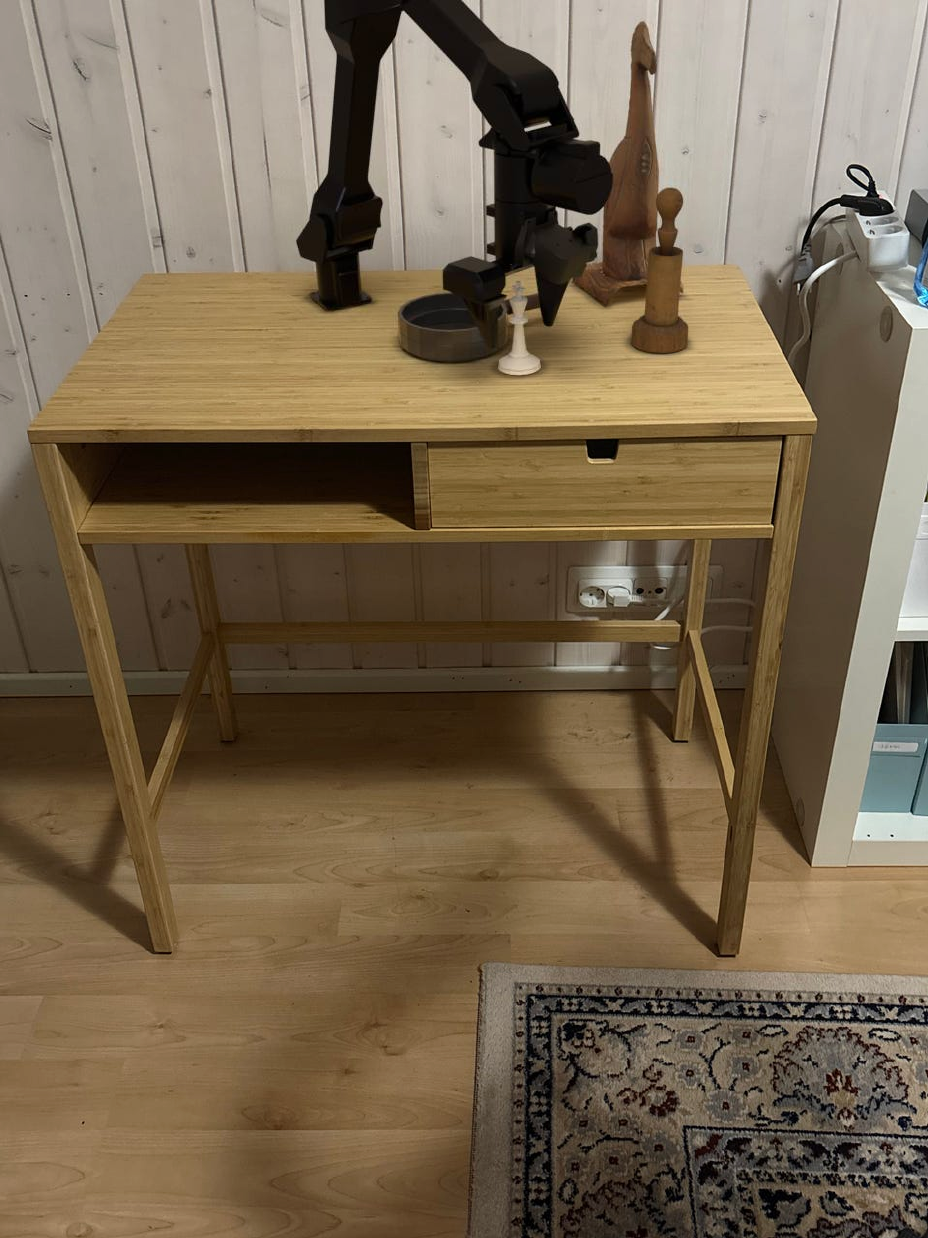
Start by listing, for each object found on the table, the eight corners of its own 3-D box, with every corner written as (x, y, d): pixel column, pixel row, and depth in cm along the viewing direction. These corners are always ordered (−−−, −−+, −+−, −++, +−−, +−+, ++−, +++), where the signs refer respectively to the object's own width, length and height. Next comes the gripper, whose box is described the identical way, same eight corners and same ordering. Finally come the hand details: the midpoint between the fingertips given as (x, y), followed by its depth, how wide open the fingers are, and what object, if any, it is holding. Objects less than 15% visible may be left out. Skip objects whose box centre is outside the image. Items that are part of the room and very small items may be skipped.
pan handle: (500, 319, 143) (500, 304, 142) (493, 314, 144) (492, 300, 143) (563, 305, 146) (563, 291, 145) (556, 300, 147) (556, 286, 146)
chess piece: (517, 355, 139) (516, 271, 133) (549, 365, 136) (549, 280, 130) (489, 368, 136) (486, 282, 130) (521, 378, 133) (520, 291, 127)
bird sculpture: (608, 310, 150) (621, 33, 132) (568, 282, 159) (576, 19, 141) (685, 297, 153) (708, 25, 135) (642, 270, 162) (658, 12, 144)
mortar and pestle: (685, 333, 143) (699, 180, 133) (688, 354, 138) (702, 197, 127) (630, 333, 144) (639, 180, 133) (631, 353, 138) (641, 196, 128)
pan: (382, 335, 145) (380, 304, 143) (475, 316, 150) (474, 285, 147) (429, 372, 135) (427, 339, 133) (526, 349, 140) (527, 317, 138)
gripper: (513, 231, 115) (513, 381, 124) (636, 191, 125) (628, 332, 134) (436, 209, 121) (441, 353, 130) (559, 173, 132) (556, 308, 141)
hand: (520, 336), depth 134 cm, fingers open, 9 cm apart
